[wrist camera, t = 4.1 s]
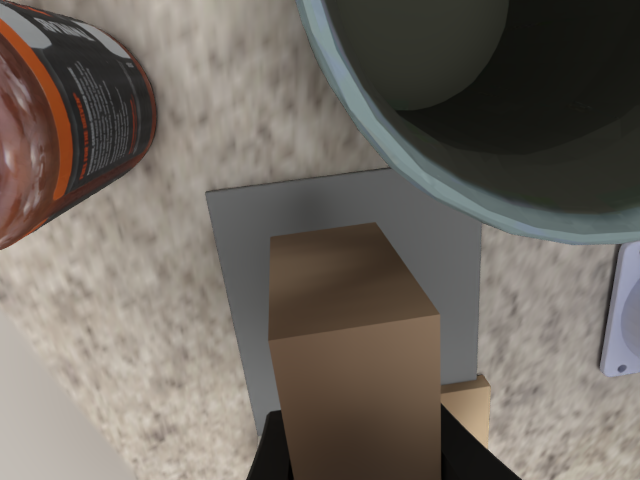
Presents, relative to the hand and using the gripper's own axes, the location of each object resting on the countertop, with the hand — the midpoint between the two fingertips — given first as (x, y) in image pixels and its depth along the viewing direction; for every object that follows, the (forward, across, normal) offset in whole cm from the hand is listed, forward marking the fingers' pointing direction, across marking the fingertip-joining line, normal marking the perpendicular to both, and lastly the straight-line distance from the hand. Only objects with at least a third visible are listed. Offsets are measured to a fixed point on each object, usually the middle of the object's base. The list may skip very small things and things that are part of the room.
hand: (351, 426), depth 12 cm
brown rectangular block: (+2, 0, 0) cm, 2 cm away
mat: (+9, -2, +6) cm, 11 cm away
